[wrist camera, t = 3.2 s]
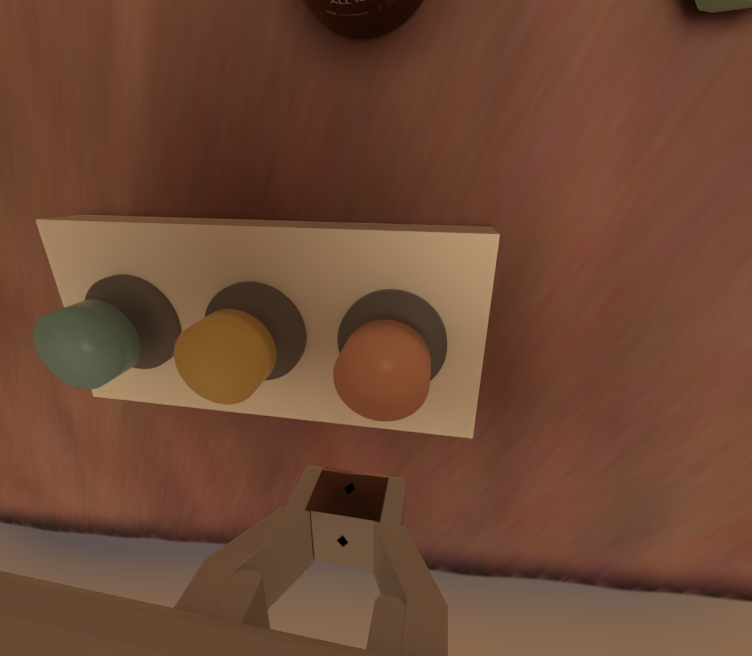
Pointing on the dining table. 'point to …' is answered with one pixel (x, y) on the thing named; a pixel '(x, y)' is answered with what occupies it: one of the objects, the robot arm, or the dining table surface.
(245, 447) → the dining table surface
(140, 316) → the button panel
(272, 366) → the mustard button
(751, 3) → the container
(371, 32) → the supplement bottle
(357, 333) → the terracotta button
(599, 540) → the dining table surface
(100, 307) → the teal button
